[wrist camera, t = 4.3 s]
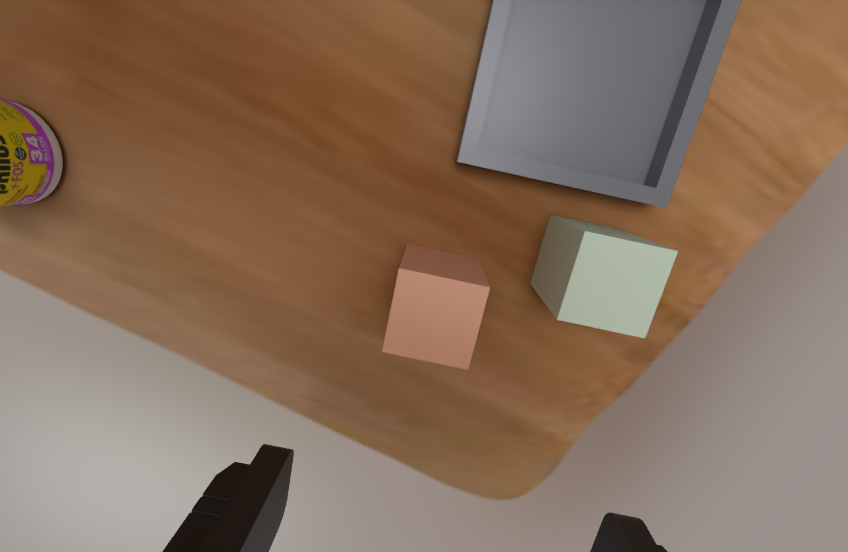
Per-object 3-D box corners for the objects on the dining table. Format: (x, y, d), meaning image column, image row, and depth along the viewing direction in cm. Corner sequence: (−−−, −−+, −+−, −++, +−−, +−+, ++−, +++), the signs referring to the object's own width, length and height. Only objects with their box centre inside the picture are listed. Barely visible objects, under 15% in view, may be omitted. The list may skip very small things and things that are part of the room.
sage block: (529, 283, 30) (556, 319, 24) (550, 214, 29) (585, 231, 22) (598, 298, 31) (645, 338, 24) (622, 229, 29) (678, 251, 22)
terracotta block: (393, 310, 31) (381, 352, 24) (407, 243, 30) (399, 268, 23) (461, 324, 31) (468, 369, 25) (477, 258, 30) (490, 287, 23)
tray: (455, 161, 28) (457, 161, 26) (506, -68, 25) (514, -93, 22) (646, 203, 29) (666, 207, 26) (723, -16, 25) (753, -35, 23)
